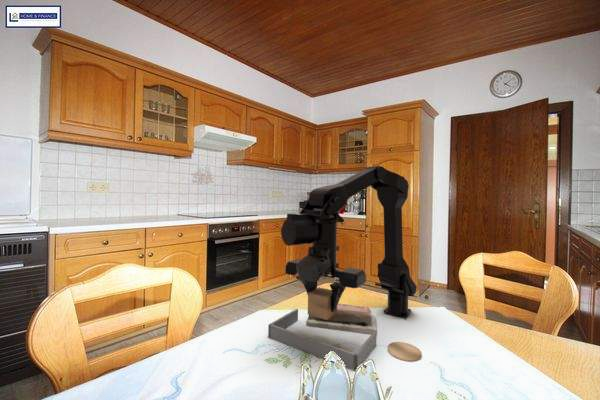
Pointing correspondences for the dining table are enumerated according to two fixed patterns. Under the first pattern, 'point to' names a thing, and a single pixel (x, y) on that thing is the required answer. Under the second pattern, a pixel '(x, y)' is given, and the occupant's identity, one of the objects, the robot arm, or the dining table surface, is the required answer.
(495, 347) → the dining table surface
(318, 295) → the block
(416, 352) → the coaster
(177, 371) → the dining table surface
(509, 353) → the dining table surface
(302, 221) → the robot arm
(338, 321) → the packaged product
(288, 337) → the bin
